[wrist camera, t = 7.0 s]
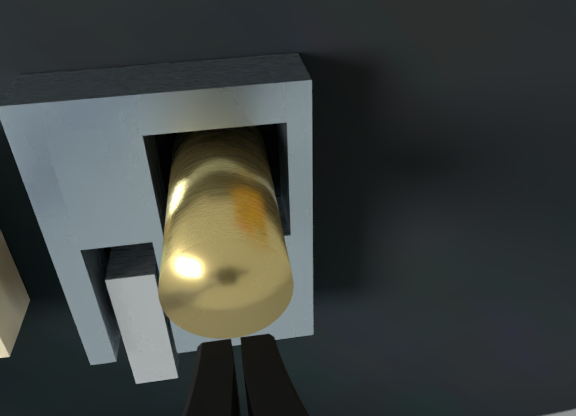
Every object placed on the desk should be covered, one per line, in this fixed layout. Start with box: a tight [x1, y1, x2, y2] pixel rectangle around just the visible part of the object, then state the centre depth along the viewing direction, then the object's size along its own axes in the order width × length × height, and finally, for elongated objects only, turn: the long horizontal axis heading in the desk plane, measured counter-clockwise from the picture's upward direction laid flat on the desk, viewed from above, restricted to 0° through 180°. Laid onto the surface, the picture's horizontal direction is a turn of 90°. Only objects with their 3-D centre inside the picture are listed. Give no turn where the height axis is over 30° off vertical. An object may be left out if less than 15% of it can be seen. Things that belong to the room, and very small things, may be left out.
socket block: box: [0, 53, 313, 365], centre depth 19 cm, size 11×9×3 cm
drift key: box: [105, 242, 179, 384], centre depth 22 cm, size 6×2×2 cm, turn 2°
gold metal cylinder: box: [158, 125, 294, 339], centre depth 16 cm, size 3×3×8 cm
